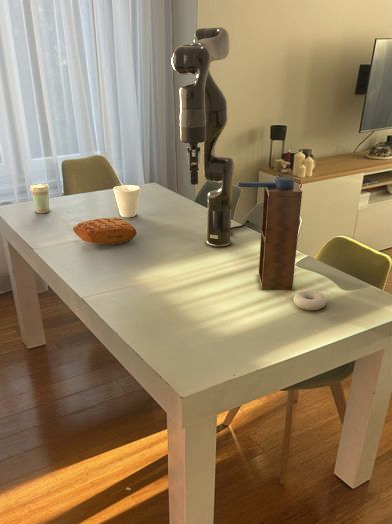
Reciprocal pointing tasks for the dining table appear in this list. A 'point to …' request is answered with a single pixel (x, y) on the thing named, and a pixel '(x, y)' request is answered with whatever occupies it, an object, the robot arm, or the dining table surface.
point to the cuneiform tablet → (105, 231)
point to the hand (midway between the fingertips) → (194, 180)
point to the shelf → (279, 237)
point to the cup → (127, 199)
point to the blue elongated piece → (271, 183)
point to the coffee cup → (40, 197)
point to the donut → (309, 300)
